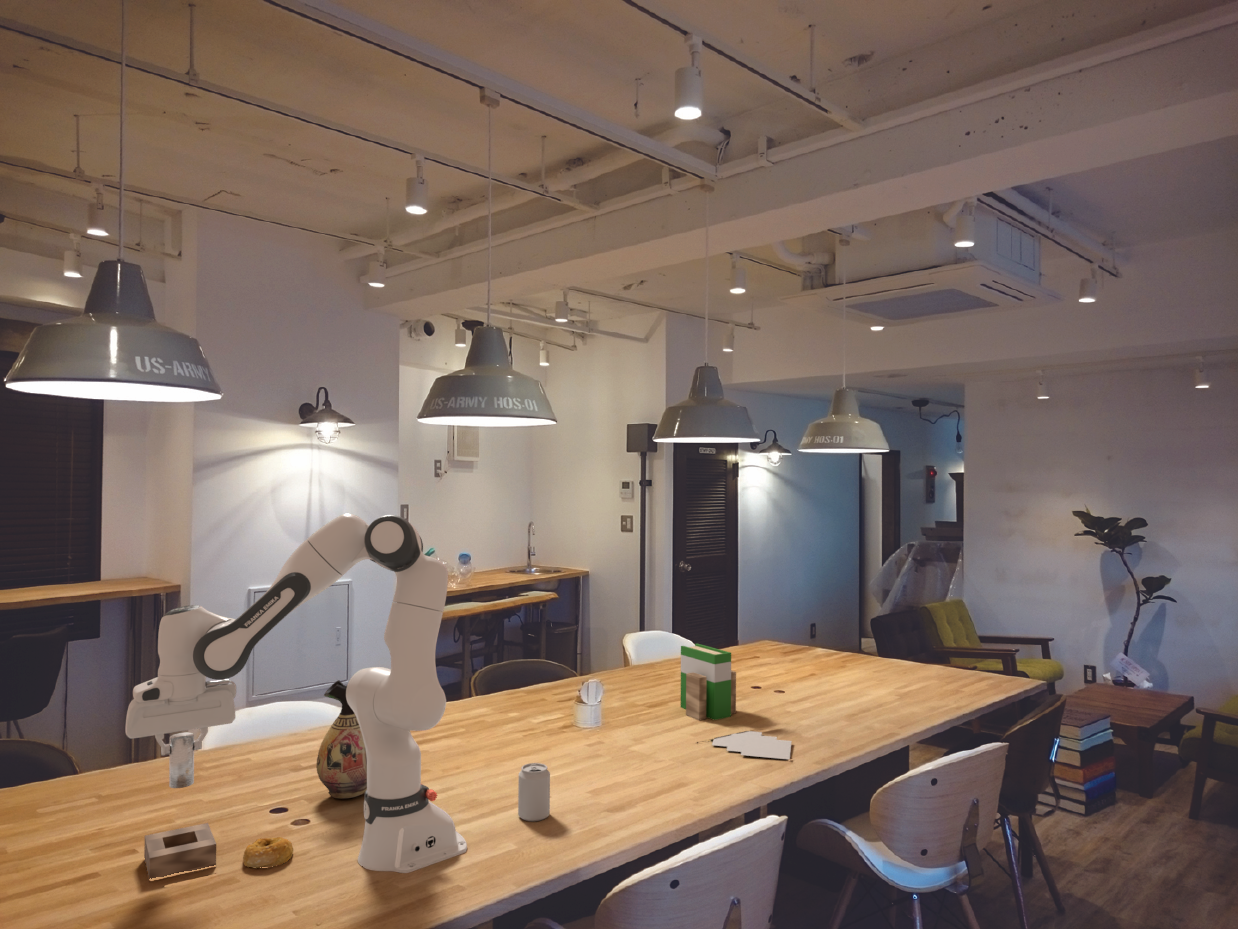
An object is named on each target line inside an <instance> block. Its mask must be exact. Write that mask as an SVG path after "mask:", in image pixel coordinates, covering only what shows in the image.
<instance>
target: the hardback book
mask: <svg viewBox="0 0 1238 929" xmlns="http://www.w3.org/2000/svg"><path fill="white" fill-rule="evenodd" d="M731 670H732V652H730V651H727V650H724V649H723V650H722V649H718V648H715V647H712V646H708V645H704V644H699V643H694V645H693V646H686V645H681V646H680V708H682V709H683V710H686V673H692V672H694V673H697V674H700V675H703V676H706V677H707V681H706V719H707V718H708V719H710V720H712V721H716V720H721V719H727V718H729V717H731V716H732V714H731Z"/></svg>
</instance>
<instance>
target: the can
mask: <svg viewBox="0 0 1238 929" xmlns="http://www.w3.org/2000/svg"><path fill="white" fill-rule="evenodd" d="M517 791H518V794H517V795H518V796H517V797H518V798H517V800H518V802H517V807H518V808H517V813H518V814H517V816H518V817H519V818H521V819H522V820H523V821H526V822H539V821H543V820H546V819H547V818H548V817H549V815H550V812H551V811H550V810H551V808H550V806H551V805H550V803H551V800H550V798H551V772H550V771H549V770H548V765H546V764H545V763H541V762H540V763H539V762H531V763H529V762H528V763H526V764H524V765H522V766H521V770H520V771H519V772H518V790H517Z"/></svg>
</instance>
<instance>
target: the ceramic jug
mask: <svg viewBox="0 0 1238 929" xmlns="http://www.w3.org/2000/svg"><path fill="white" fill-rule="evenodd" d="M348 683H349V681H348ZM348 683H347V684H348ZM346 689H347V685H344V684H343V682H342V681H341V680H340V679H339V680H338V679H337V680H336V681H335V682H334V683H332V685H331V686H330V687H328V688H327V689H326V691H325V692H324V695H323V696H324V697H326V698H328V699H333V700H336V701H338V702H340V704H341V709H340V712H339V714H338V716H337V717H336V718H335V720H334V721H333V723H332V724H331V726H330V727H329V729H328V731H326V733H325V735H324V737H323V739H322V741H321V743H320V746H319V750H318V754H317V758H316V772H317V775H318V779H319V780H320V782H321V783H322V785H323V786H324V787H326V789H327V790H328V794H329V796H330V797H332V798H335V799H351V798H355V797H359V796H361V795H363V794H365V791H366V790H367V758H366V750H365V745H364V740H363V737H362V733H361V729H360V726H359V723H358V720H357V718H356V715H355V713H354V712H353V710H352V709H351V707H350V706H349V704H348V702H347V699H346Z"/></svg>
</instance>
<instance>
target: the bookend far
mask: <svg viewBox="0 0 1238 929" xmlns="http://www.w3.org/2000/svg"><path fill="white" fill-rule="evenodd" d="M736 711H737V671H734V670H732V669H731V715H733V714H736Z"/></svg>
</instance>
